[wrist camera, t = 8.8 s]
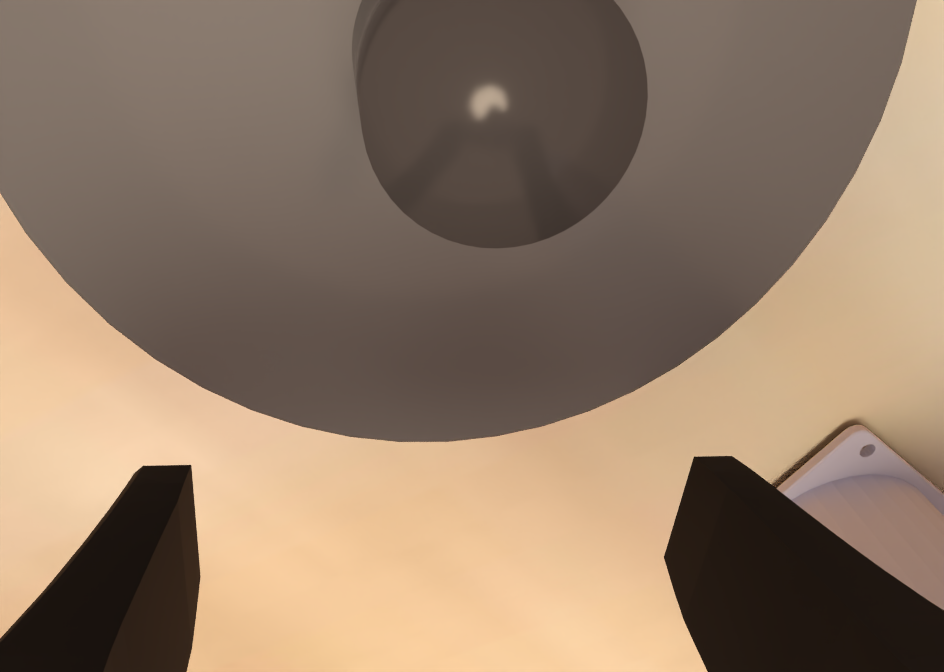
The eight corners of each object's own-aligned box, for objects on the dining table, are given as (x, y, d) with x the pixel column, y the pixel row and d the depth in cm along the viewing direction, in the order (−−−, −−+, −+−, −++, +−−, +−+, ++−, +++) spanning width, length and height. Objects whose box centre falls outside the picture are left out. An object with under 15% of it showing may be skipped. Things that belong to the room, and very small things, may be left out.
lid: (1048, -27, 12) (1302, 14, 9) (497, 518, 16) (540, 680, 13) (357, -1087, 7) (389, -1922, 4) (-230, 123, 11) (-466, 237, 8)
